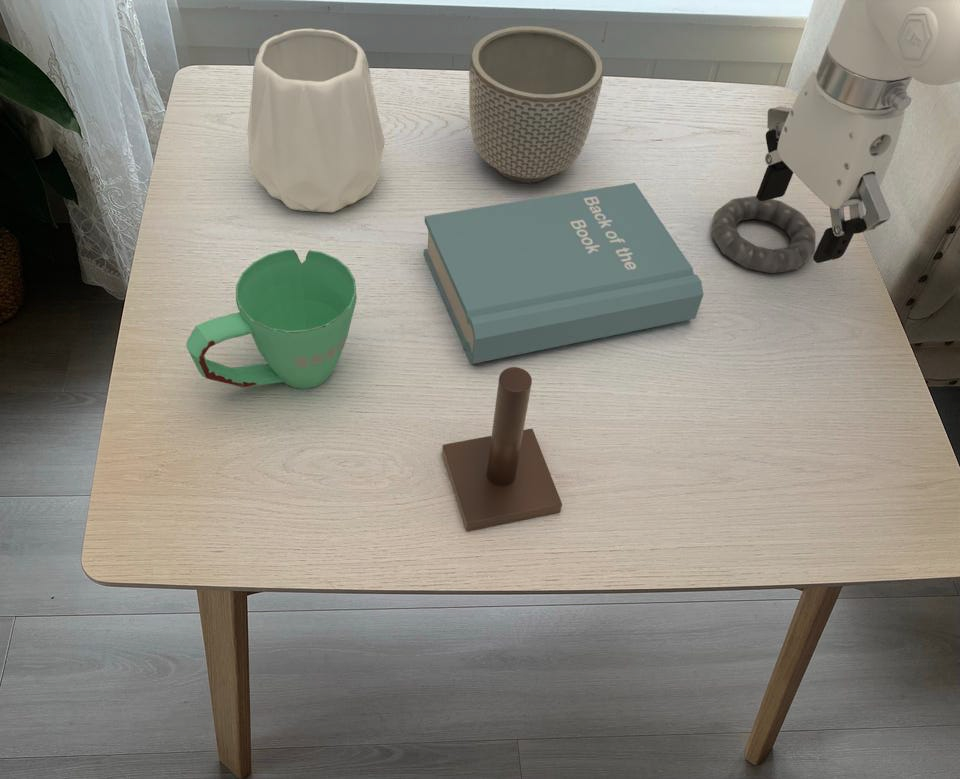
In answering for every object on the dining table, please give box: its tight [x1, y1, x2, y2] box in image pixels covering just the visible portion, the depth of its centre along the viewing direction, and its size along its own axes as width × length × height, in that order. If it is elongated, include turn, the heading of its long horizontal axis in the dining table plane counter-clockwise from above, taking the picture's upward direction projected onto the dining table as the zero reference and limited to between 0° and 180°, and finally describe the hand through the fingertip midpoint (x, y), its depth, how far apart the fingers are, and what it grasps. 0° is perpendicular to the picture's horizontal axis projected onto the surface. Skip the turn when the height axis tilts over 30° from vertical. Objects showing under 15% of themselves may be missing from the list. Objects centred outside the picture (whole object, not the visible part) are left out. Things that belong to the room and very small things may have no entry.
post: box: [441, 366, 563, 532], centre depth 74 cm, size 8×8×13 cm
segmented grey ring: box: [710, 195, 817, 274], centre depth 100 cm, size 11×11×2 cm
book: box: [423, 182, 704, 365], centre depth 93 cm, size 23×16×5 cm
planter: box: [468, 25, 605, 184], centre depth 102 cm, size 14×14×13 cm
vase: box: [247, 28, 386, 213], centre depth 97 cm, size 14×14×15 cm
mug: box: [185, 249, 358, 390], centre depth 81 cm, size 15×10×10 cm
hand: (797, 226), depth 95 cm, fingers open, 9 cm apart
